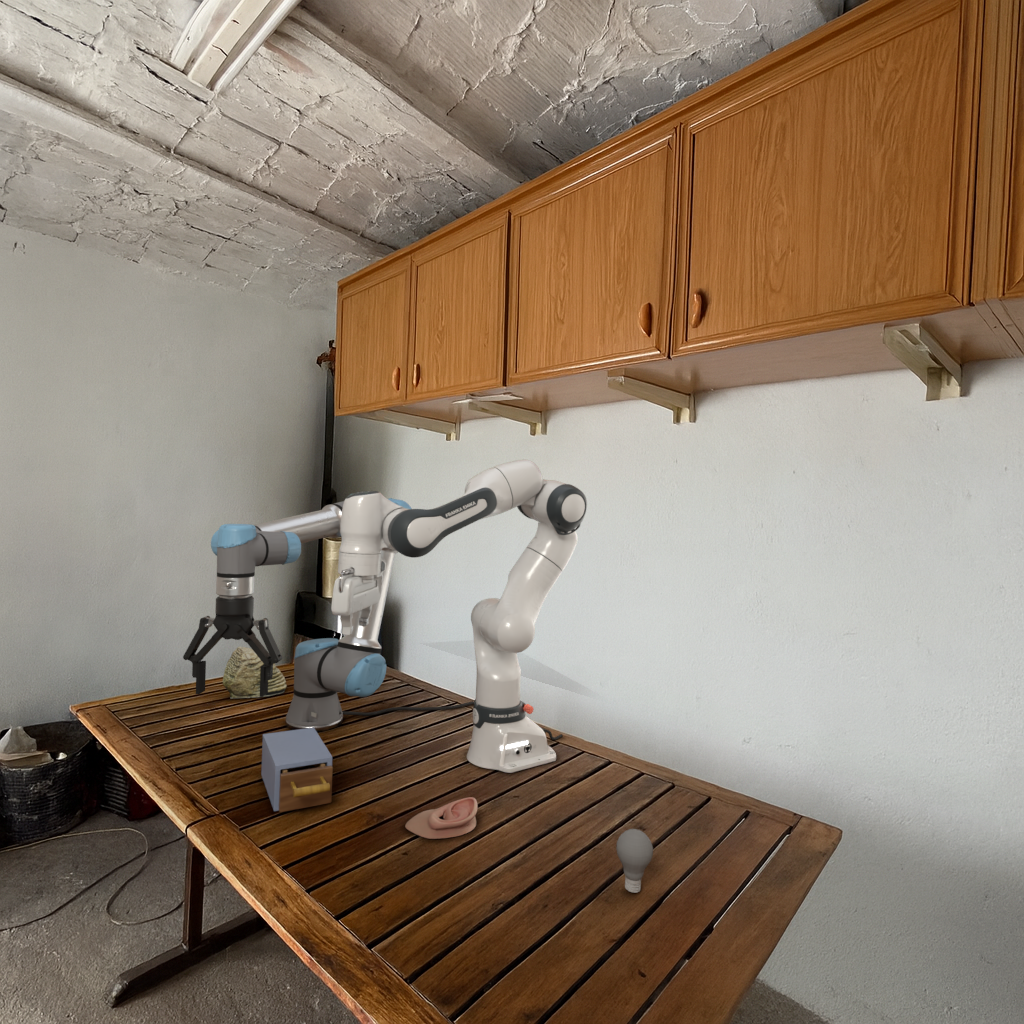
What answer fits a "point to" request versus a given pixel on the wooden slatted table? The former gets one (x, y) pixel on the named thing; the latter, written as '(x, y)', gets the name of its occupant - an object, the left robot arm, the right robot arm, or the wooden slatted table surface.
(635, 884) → the light bulb
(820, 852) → the wooden slatted table surface
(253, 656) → the fossil
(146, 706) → the wooden slatted table surface
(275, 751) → the cabinet
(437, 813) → the anatomical model
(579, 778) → the wooden slatted table surface
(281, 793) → the drawer
